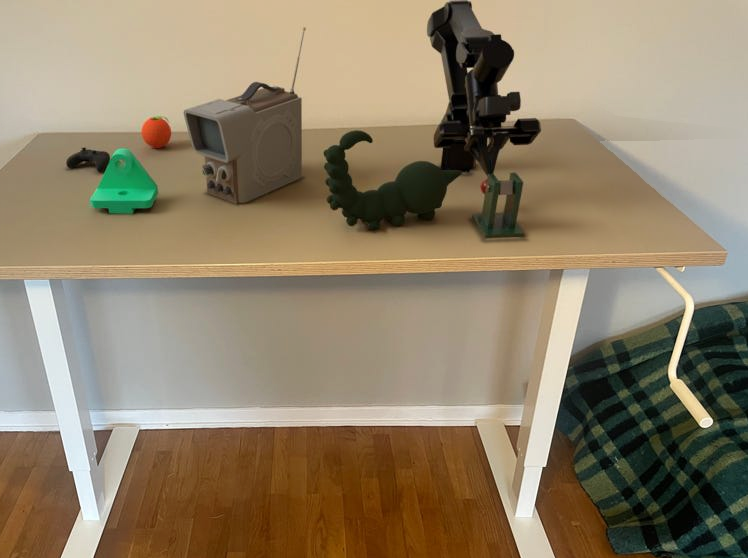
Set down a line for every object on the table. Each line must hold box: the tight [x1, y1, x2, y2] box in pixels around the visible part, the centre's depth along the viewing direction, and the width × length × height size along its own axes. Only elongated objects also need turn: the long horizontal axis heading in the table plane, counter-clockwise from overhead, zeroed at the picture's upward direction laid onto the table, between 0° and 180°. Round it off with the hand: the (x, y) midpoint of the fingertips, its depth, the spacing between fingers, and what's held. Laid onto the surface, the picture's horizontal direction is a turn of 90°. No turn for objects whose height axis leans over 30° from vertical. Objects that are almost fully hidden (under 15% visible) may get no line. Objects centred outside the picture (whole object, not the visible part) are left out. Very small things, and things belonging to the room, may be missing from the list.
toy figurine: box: [322, 129, 463, 231], centre depth 132 cm, size 9×19×25 cm
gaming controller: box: [65, 147, 111, 173], centre depth 164 cm, size 10×5×6 cm
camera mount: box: [89, 147, 159, 214], centre depth 143 cm, size 12×8×10 cm, turn 86°
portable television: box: [183, 26, 307, 205], centre depth 144 cm, size 12×24×30 cm, turn 137°
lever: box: [480, 178, 513, 196], centre depth 133 cm, size 11×3×3 cm, turn 2°
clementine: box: [141, 115, 172, 149], centre depth 172 cm, size 8×7×7 cm
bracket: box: [471, 172, 525, 239], centre depth 131 cm, size 9×7×10 cm
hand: (490, 175), depth 136 cm, fingers closed
